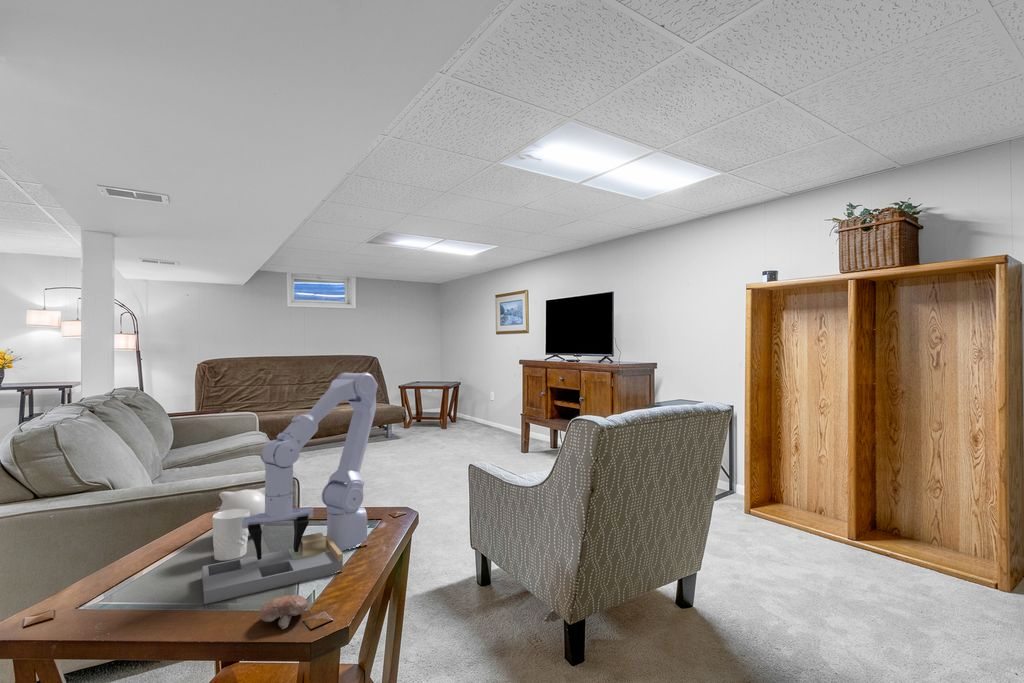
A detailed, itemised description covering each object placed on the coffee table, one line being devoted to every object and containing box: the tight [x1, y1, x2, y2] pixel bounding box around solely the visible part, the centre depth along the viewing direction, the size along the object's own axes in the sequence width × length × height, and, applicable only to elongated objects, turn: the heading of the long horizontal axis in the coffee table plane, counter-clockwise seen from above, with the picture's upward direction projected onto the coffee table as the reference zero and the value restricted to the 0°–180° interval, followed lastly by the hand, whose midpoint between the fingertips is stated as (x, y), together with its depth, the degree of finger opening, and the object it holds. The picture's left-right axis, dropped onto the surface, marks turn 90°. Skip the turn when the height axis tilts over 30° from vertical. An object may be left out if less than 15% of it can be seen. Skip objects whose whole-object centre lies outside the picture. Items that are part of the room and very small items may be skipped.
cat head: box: [216, 486, 266, 537], centre depth 131 cm, size 15×13×12 cm
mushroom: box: [259, 594, 309, 630], centre depth 87 cm, size 8×6×8 cm
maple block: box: [299, 532, 326, 556], centre depth 114 cm, size 5×5×3 cm
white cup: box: [211, 509, 250, 562], centre depth 118 cm, size 8×8×10 cm
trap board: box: [201, 534, 344, 605], centre depth 107 cm, size 26×14×4 cm, turn 124°
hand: (277, 554), depth 110 cm, fingers open, 7 cm apart
